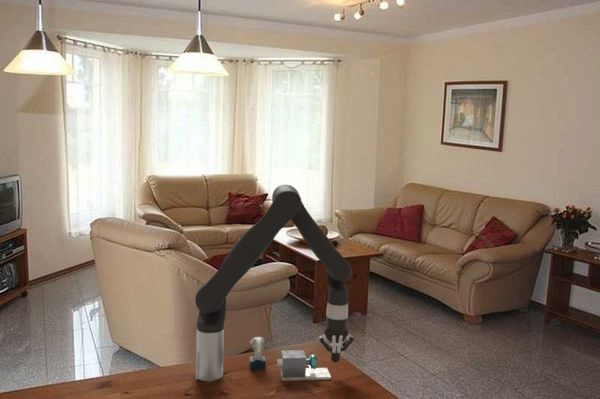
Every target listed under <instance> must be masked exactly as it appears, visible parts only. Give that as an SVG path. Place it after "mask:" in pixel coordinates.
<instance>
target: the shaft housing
mask: <svg viewBox="0 0 600 399" xmlns="http://www.w3.org/2000/svg"><path fill="white" fill-rule="evenodd" d="M306 358H307V356H306V353H305V350H303V349H298V350H297V349H295V350H294V349H293V350H291V349H290V350H289V349H288V350H281V351H280V359H282V360H283V364H282V366H280V376H281V380H282V381H283V382H284V381H287V382H288V381H319V380H323V381H324V380H326V381H327V380H332V375H331V374H330V372H329V369H328V367H317V368H316V369H310V368H308V367H307V366H306Z"/></svg>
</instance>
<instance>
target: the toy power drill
mask: <svg viewBox="0 0 600 399" xmlns="http://www.w3.org/2000/svg"><path fill="white" fill-rule="evenodd" d="M249 344H251V346H252V349H253V356H249V370H250V369H258V371H260V370H259V369H262V370H261V371H263V370H264V369H266V368H267V365H266V364H267V360H266V356H263V351H262V350H263V347H264V345H265V339H264V338H263V337H262V336H255V337H253V338H252V339H251V340H250V341H249Z"/></svg>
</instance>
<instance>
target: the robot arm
mask: <svg viewBox="0 0 600 399" xmlns="http://www.w3.org/2000/svg"><path fill="white" fill-rule="evenodd" d="M271 200H272V203H271V205H270V206H269V208H268V209H267V211H266V212H265V213H264V215H263V216H262V217H261V218H260V220H259V221H257V222H256V223H254V225H252V226H251V227H249V228H248V229H247V230H246V231H245V232H244V233H243V234H242V235H241V236H240V237H239V238H238V239H237V241H236V242H235V243H234V245H233V246H232V247H231V249H230V250H229V252H228V254H226V257H225V258H224V260H223V261H222V263H221V265H220V266H219V268H218V269H217V271H216V272H215V274H214V275H212V277H211V278H210V279H209V280H207V281H205V283H203V284H202V285H201V286H200V288H199V289H198V290H197V292H196V294H195V298H194V299H195V307H196V308H197V309H198V317H197V320H196V350H195V351H196V353H195V380H196V381H197V380H199V381H202V382H203V381H204V382H214V381H218V380H220V379H222V378H223V375H224V345H225V344H224V339H225V338H224V337H225V320H226V314H227V313H226V310H227V296H228V295H229V293H230V292H231V290H232V289H233V287H234V286H235V285H236V284H237V283H238V282H239V281H240V280H241V279H242V278H243V277H244V276H245V274H247V273H248V272H249V270H251V268H252V267H253V266H254V265H256V263H257V261H258V260H259V259H260V258H261V256H262V255H263V254H264V253H265V251H266V250H267V248H268V247H269V246H270V245H271V243H272V242H273V241H274V239H275V237H276V236H277V235H278V234H279V232H280V231H281V230H282V229H283V227H285V226H286V225H287V224H288V223H289V222H290V221H291V222H292V223H293V225H294V226H295V228H296V229H297V230H298V232H299V234H300V235H301V237H302V238H303V240H304V242H305V243H306V244H307V246H308V247H309V249H310V250H311V251H312V253H313V254H314V255H315V257H316V258H317V259H318V261H320V262H322V263H323V264H324V266H325V267H326V269H325V271H326V272H325V273H326V274H325V275H326V283H327V289H328V290H327V305H326V313H325V314H326V316H325V317H326V319H325V320H326V321H325V330H324V331H323V332H324V333H323V334H322V335H319V336H318V340H319V342H320V343H321V344H322V346H323V347H324V348H325V349H326V351H328V352H331V353H330V358H331V359H330V360H331V362H332V363H333V364H334V363H335V364H336V363H337V364H338V362H340V358H341V357H340V356H341V352H345V351H346V350H347V349H348V348H349V346H350V345H351V344H352V343H353V341H355V337H354V336H353V335H352V334H350V333H349V331H348V324H349V323H348V320H349V290H348V287H347V286H346V282H347V281H348V280H350V278H351V277H352V274H353V271H352V270H353V269H352V267H351V264H350V263H349V262H348V260H346V258H345V257H344V256H343V255H342V254H341V253H340V252H339V251H338V249H337V248H336V247H335V245H334V243H332V241H331V240H330V239H329V237H328V236H327V235H326V233H325V232H324V231H323V229H322V228H321V227H320V226H319V225H318V224H317V222H316V221H315V220H314V218H313V217H312V216H311V214H310V212H309V211H308V210H307V207H305V205H304V203H303V201H302V198H301V195H300V194H299V192H298V190H297V188H295V187H294V186H292V185H290V184H285V183H284V184H280V185H278V186H277V187H275V188H274V190H273V192H272V196H271ZM327 340H328V342H329V343H330V345H329V344H328V343H327Z"/></svg>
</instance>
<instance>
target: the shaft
mask: <svg viewBox="0 0 600 399" xmlns="http://www.w3.org/2000/svg"><path fill="white" fill-rule="evenodd" d="M317 361H318V358H317V354H315V353H314V354H309V356H308V358H307V357H306V367H307V366H309V368H310V369H316V368H318V362H317ZM276 363H277V364H276V365H277V367H281V366H282V364H283V360H282V359H281V358H277V362H276Z"/></svg>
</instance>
